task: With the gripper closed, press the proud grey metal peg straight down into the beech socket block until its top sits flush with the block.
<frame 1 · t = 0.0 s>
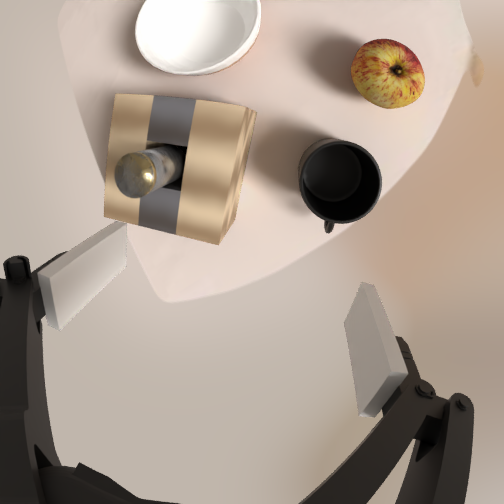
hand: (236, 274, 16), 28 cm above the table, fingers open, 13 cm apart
apple: (376, 81, 33), on the table
mug: (330, 180, 40), on the table
peg: (153, 168, 30), point 13 cm above the table, slide at 0.0 cm
bowl: (211, 33, 34), on the table
socket block: (191, 156, 41), on the table
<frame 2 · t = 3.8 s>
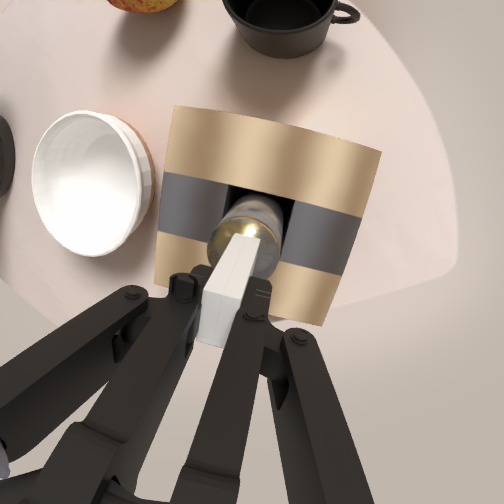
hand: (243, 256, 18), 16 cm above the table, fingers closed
mug: (295, 23, 25), on the table
peg: (252, 229, 22), point 11 cm above the table, slide at 1.0 cm, touching gripper
bowl: (116, 173, 34), on the table
socket block: (266, 195, 33), on the table
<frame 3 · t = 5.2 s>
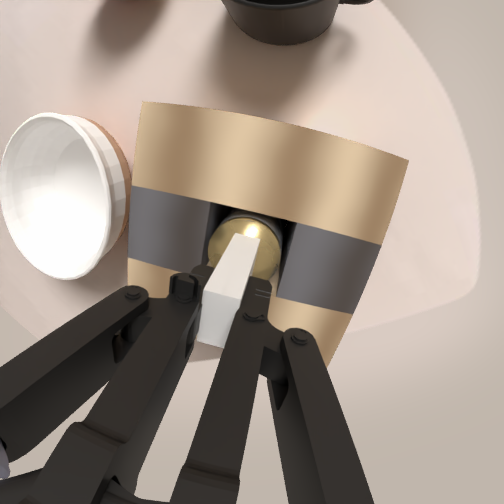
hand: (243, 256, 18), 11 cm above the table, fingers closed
mug: (296, 5, 20), on the table
peg: (253, 230, 22), point 6 cm above the table, slide at 6.5 cm, touching gripper
bowl: (91, 182, 29), on the table
socket block: (262, 209, 28), on the table
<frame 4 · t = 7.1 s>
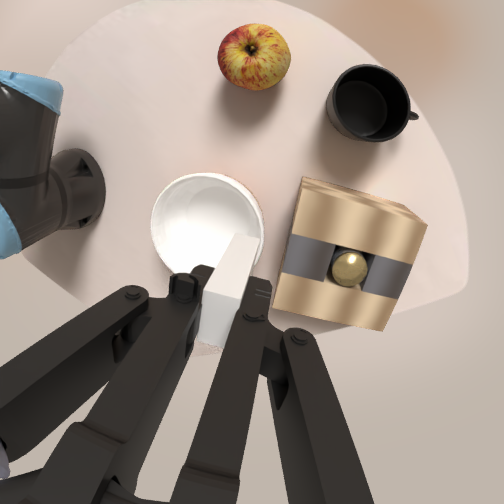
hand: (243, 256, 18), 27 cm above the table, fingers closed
apple: (261, 65, 37), on the table
mug: (367, 110, 37), on the table
peg: (345, 255, 39), point 6 cm above the table, slide at 6.5 cm
bowl: (219, 217, 47), on the table
socket block: (341, 240, 44), on the table
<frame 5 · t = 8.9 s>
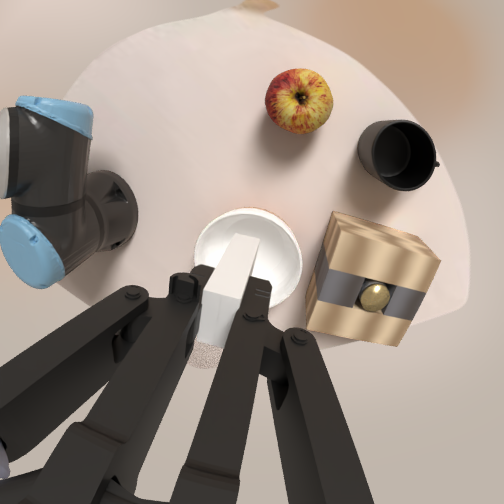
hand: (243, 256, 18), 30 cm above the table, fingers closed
apple: (299, 104, 41), on the table
mug: (393, 152, 41), on the table
peg: (369, 283, 44), point 6 cm above the table, slide at 6.5 cm
bowl: (253, 244, 51), on the table
socket block: (362, 266, 49), on the table
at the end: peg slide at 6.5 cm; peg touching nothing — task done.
